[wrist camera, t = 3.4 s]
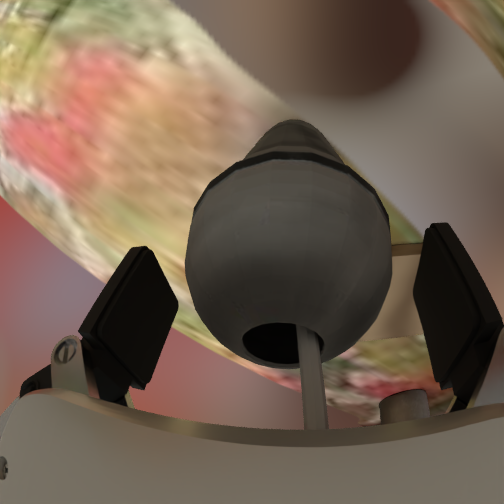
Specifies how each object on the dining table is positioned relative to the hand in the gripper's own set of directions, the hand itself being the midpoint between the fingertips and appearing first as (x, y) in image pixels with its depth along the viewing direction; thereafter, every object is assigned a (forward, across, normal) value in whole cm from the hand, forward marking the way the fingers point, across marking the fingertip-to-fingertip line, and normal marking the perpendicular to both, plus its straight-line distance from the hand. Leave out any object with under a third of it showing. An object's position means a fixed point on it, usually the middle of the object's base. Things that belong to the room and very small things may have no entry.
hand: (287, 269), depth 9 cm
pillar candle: (+13, -17, +46) cm, 51 cm away
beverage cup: (+13, 0, 0) cm, 13 cm away
